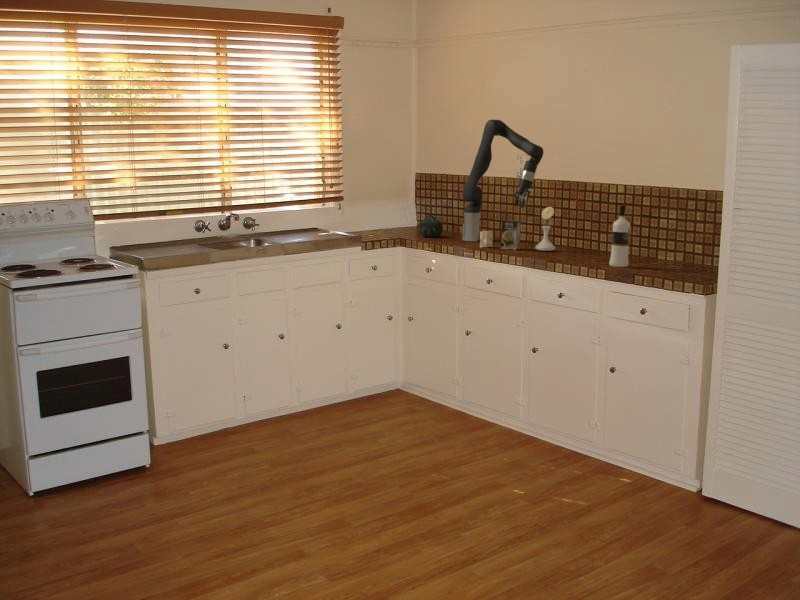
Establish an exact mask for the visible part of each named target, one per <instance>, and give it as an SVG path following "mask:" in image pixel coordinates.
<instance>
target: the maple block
mask: <svg viewBox="0 0 800 600" xmlns="http://www.w3.org/2000/svg"><path fill="white" fill-rule="evenodd" d="M493 234H494V231H489V230H488V231H487V230H483V231H480V230H479V248H482V247H492V248H493V237H494V235H493Z"/></svg>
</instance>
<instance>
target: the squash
mask: <svg viewBox="0 0 800 600" xmlns="http://www.w3.org/2000/svg"><path fill="white" fill-rule="evenodd" d="M418 231H419V234H420V235H422V236H423V237H424V238H429V237H431V238H433V237H435V238H439V237H440V236H441V235H442V233H443V225H442V222H441V221H440V219H438V218H437V217H435V216H434V215H432V214H427V215H426V216H425V217H424V218H423V219H422V220H421V221H420V223H419V225H418Z"/></svg>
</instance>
